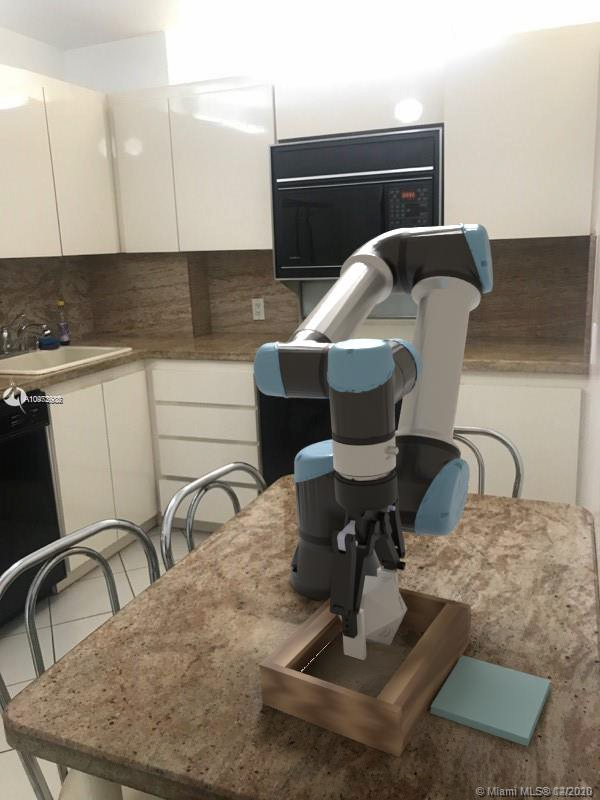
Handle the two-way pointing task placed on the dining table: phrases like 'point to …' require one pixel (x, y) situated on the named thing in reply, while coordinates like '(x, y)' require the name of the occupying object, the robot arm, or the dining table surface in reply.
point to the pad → (492, 699)
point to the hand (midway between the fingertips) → (372, 633)
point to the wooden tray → (399, 700)
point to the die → (381, 609)
